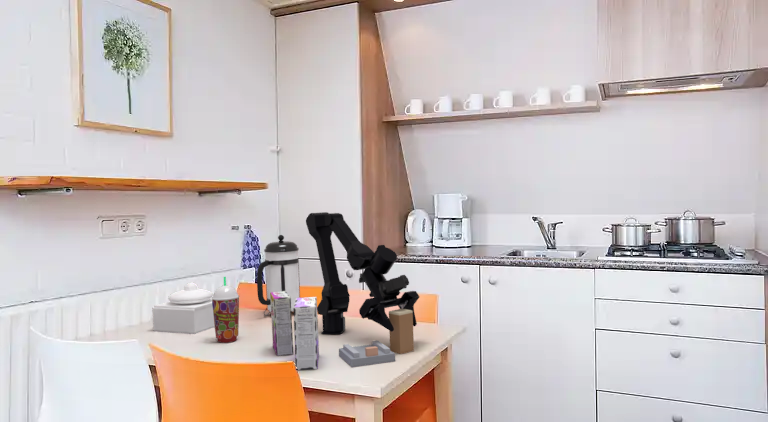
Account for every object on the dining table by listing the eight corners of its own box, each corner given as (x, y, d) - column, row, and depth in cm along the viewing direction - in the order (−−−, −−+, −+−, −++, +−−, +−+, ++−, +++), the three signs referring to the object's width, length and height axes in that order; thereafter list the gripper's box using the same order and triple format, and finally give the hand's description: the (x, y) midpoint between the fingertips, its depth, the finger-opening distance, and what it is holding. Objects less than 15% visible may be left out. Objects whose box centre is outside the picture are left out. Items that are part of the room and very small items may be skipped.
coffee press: (262, 311, 230) (259, 234, 229) (304, 309, 232) (301, 232, 231) (258, 320, 213) (255, 237, 212) (303, 318, 215) (300, 235, 214)
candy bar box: (271, 347, 175) (269, 291, 174) (288, 345, 176) (286, 290, 176) (275, 356, 164) (273, 298, 164) (293, 354, 166) (291, 296, 165)
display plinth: (339, 355, 163) (338, 341, 163) (380, 350, 167) (379, 336, 167) (351, 367, 152) (351, 351, 152) (395, 361, 156) (394, 346, 156)
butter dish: (153, 331, 202) (151, 285, 202) (189, 320, 219) (187, 277, 218) (194, 334, 195) (192, 286, 195) (228, 323, 212) (226, 278, 212)
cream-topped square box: (390, 351, 166) (388, 311, 165) (403, 347, 169) (402, 308, 169) (400, 354, 162) (399, 313, 162) (413, 350, 166) (412, 310, 165)
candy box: (298, 356, 164) (295, 297, 164) (319, 355, 165) (317, 296, 164) (294, 370, 150) (292, 306, 150) (318, 369, 151) (315, 305, 150)
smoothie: (216, 345, 179) (213, 279, 179) (210, 339, 187) (208, 276, 186) (244, 341, 183) (241, 277, 183) (237, 336, 191) (234, 274, 190)
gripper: (363, 270, 162) (391, 315, 154) (414, 263, 174) (442, 305, 166) (347, 295, 168) (373, 340, 160) (397, 287, 180) (423, 328, 172)
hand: (404, 328), depth 164 cm, fingers open, 8 cm apart
